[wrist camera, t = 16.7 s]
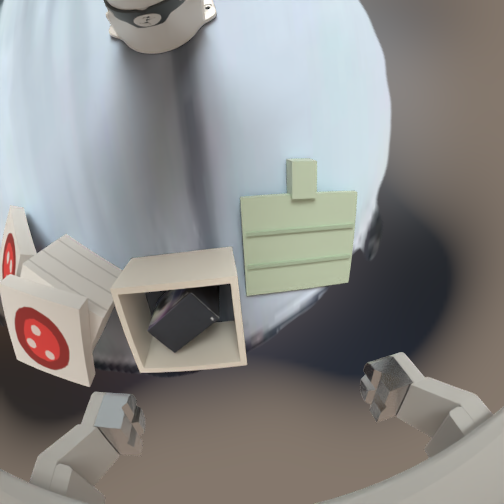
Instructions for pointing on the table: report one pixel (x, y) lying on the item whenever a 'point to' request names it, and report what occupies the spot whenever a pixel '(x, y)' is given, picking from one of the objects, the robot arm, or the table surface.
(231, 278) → the tub
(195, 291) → the small box
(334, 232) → the lid
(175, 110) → the table surface
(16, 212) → the pizza boxes
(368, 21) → the table surface
